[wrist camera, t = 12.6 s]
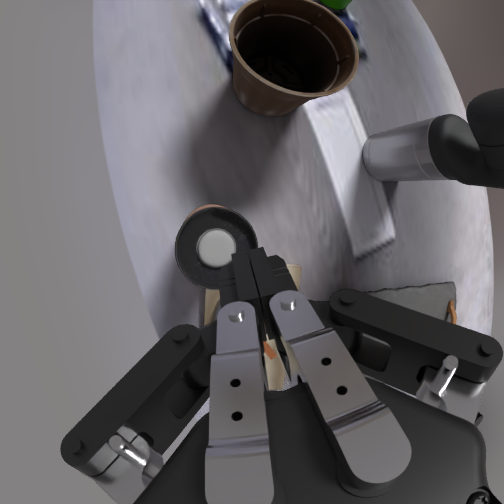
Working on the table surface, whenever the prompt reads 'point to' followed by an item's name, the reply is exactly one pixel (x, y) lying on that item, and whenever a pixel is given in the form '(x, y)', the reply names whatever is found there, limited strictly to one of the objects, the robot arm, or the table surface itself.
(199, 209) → the travel mug
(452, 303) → the serving board
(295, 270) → the flat beige board
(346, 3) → the tape dispenser
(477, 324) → the table surface
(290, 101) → the plant pot
